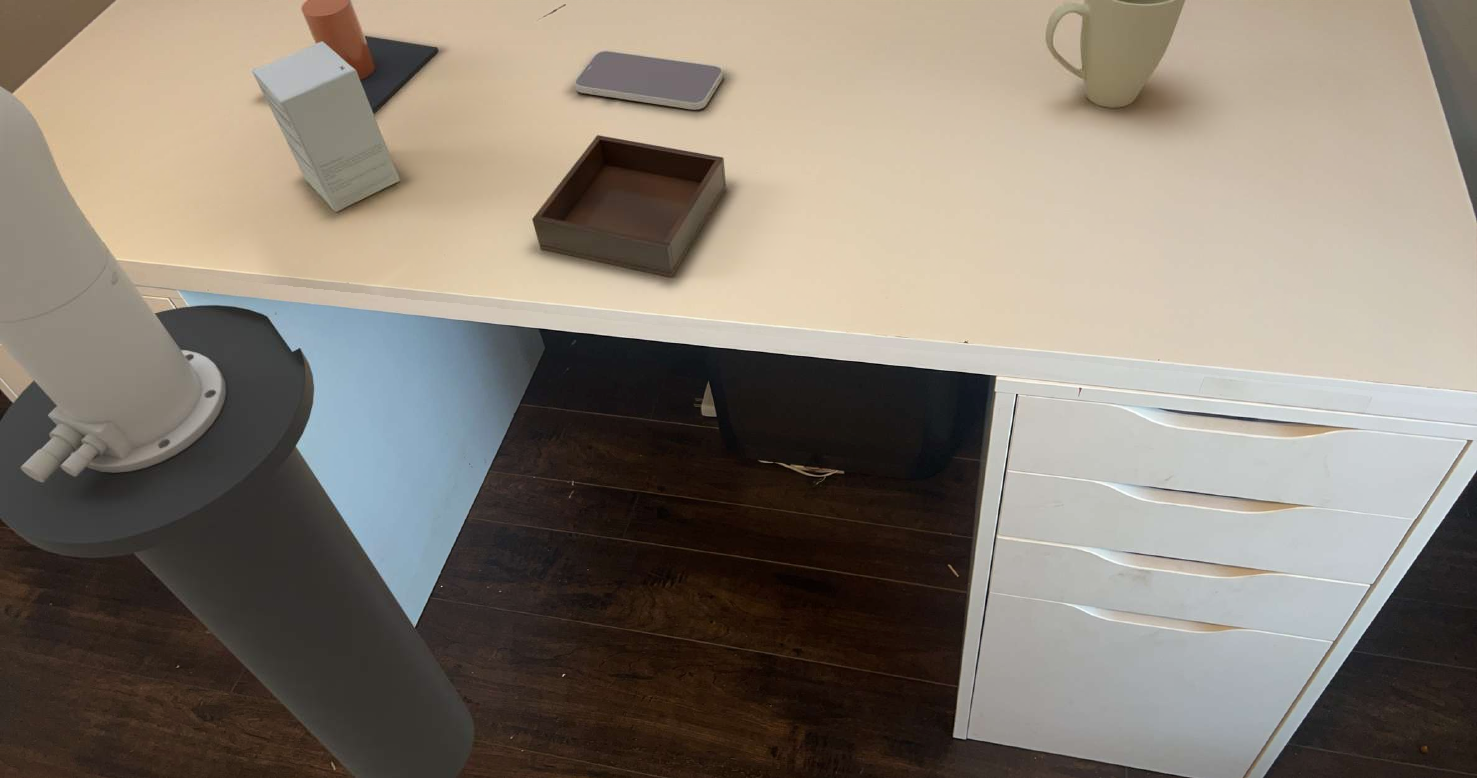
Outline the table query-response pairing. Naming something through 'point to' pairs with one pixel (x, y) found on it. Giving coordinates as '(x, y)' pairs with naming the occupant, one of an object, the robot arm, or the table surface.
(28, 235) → the robot arm
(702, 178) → the tray
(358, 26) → the glossy orange cylinder
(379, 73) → the mat
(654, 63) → the smartphone
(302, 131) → the white packaging box
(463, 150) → the table surface
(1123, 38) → the mug
